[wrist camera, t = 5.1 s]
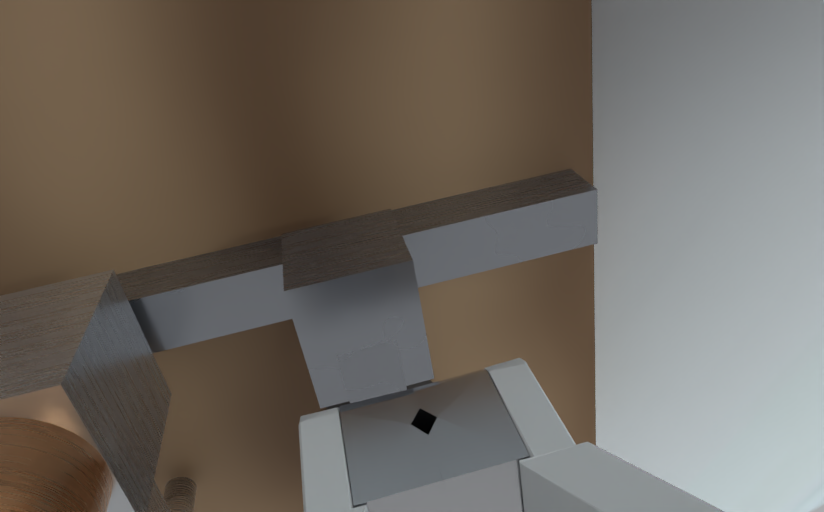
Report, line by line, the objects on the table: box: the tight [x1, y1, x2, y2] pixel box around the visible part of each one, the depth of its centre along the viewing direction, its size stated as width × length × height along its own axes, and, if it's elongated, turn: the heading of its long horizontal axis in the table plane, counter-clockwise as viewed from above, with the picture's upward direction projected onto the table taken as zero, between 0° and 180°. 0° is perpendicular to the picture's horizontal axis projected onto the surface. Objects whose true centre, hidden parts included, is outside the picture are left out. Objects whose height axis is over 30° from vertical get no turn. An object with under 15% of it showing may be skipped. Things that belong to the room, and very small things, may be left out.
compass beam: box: [116, 168, 597, 409], centre depth 12 cm, size 24×6×3 cm, turn 99°
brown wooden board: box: [0, 0, 596, 512], centre depth 13 cm, size 25×16×2 cm, turn 99°
